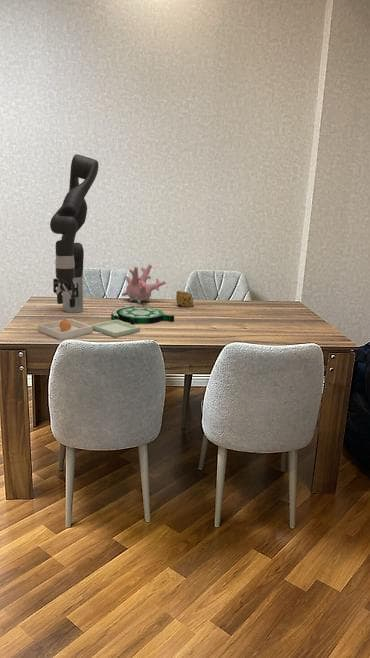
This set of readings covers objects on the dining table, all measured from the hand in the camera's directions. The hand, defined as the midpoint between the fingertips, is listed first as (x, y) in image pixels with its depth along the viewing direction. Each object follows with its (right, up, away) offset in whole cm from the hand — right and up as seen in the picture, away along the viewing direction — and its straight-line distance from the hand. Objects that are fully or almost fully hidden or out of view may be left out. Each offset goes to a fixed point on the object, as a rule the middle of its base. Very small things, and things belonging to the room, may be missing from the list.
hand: (66, 305), depth 203 cm
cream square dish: (-1, -11, +3) cm, 12 cm away
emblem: (+29, -5, +30) cm, 43 cm away
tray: (+19, -10, +9) cm, 24 cm away
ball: (-1, -8, +2) cm, 9 cm away
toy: (+25, +5, +64) cm, 69 cm away
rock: (+49, +3, +61) cm, 79 cm away
